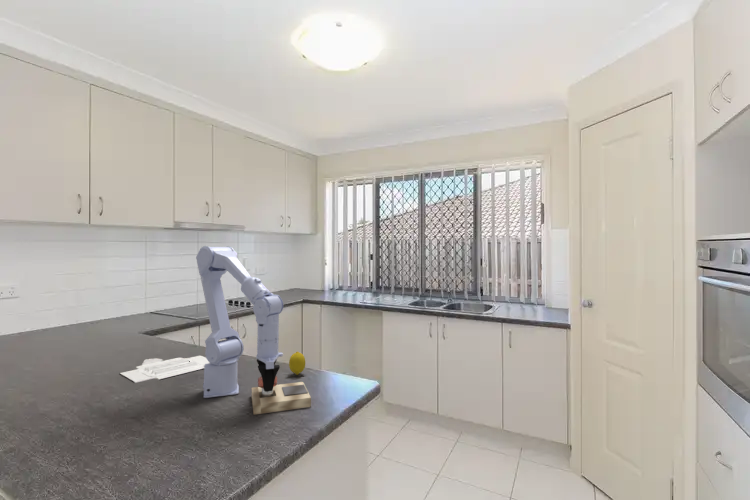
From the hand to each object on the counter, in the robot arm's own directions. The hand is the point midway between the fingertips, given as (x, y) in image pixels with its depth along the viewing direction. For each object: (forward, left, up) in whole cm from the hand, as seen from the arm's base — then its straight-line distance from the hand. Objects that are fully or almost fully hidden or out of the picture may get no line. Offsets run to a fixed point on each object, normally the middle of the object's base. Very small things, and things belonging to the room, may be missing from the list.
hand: (267, 387), depth 104 cm
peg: (0, 0, -4) cm, 4 cm away
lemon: (+12, +21, -5) cm, 24 cm away
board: (+4, 0, -4) cm, 6 cm away
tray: (-30, +43, -5) cm, 53 cm away
